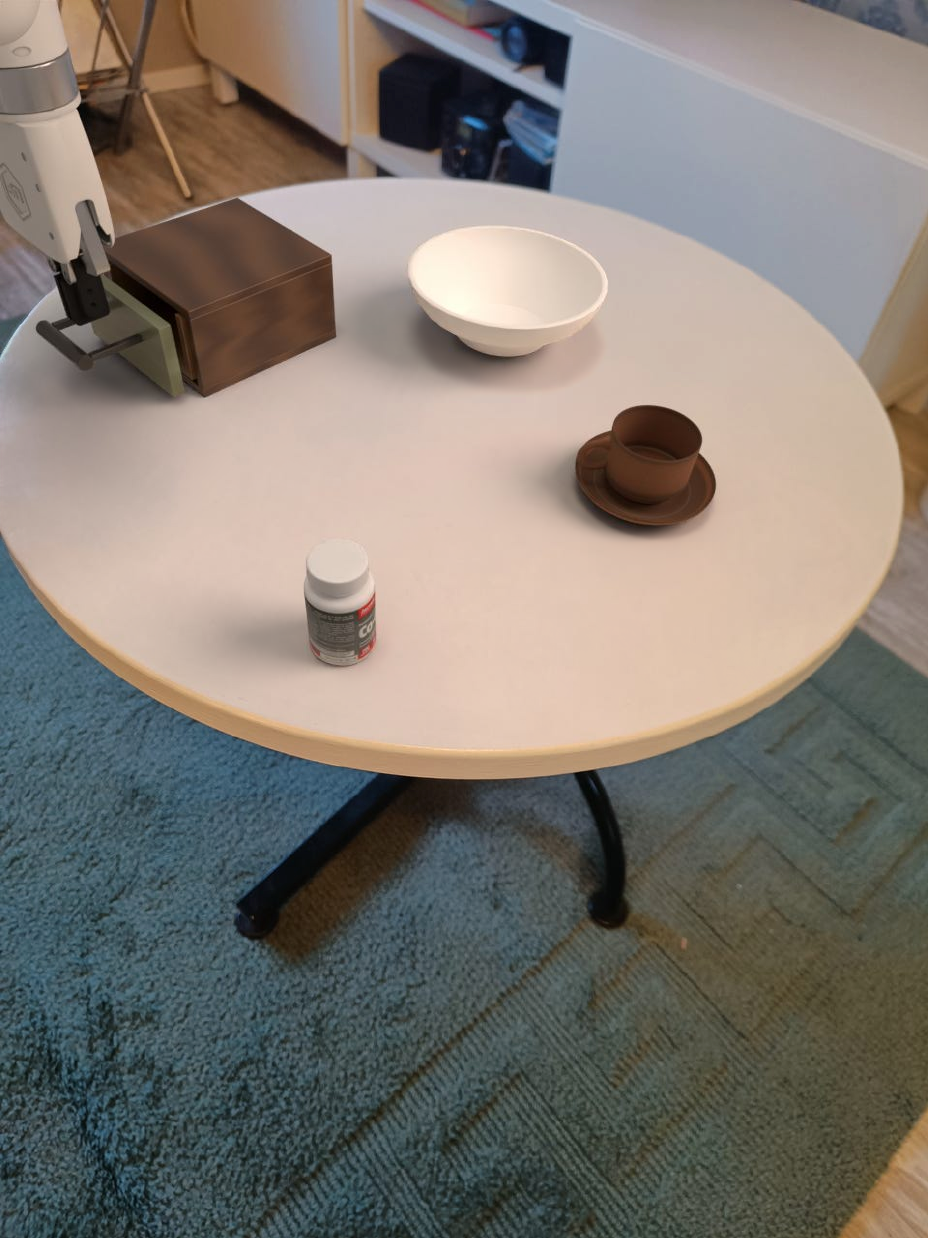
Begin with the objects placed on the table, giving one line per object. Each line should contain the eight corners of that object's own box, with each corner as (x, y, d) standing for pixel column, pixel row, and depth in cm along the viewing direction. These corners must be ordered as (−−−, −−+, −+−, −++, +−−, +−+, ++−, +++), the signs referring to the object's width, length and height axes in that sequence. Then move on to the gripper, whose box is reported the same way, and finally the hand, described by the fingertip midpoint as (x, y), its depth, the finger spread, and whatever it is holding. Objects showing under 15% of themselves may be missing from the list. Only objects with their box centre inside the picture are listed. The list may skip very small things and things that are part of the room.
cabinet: (204, 397, 79) (188, 311, 73) (117, 329, 85) (95, 244, 79) (336, 336, 87) (332, 254, 80) (247, 278, 93) (237, 196, 86)
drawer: (111, 425, 74) (90, 356, 69) (32, 356, 80) (7, 288, 75) (301, 339, 85) (296, 273, 79) (220, 284, 90) (210, 219, 85)
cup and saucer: (616, 553, 70) (633, 496, 65) (547, 462, 77) (557, 404, 72) (737, 517, 74) (761, 461, 69) (661, 433, 80) (678, 376, 76)
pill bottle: (373, 669, 61) (371, 589, 54) (305, 666, 61) (296, 585, 54) (378, 617, 64) (377, 536, 57) (314, 614, 64) (305, 532, 57)
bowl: (629, 332, 91) (644, 270, 86) (528, 418, 80) (537, 354, 75) (478, 267, 98) (483, 206, 93) (366, 339, 87) (365, 275, 82)
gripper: (-84, 57, 62) (4, 295, 76) (21, 128, 56) (96, 372, 70) (16, 37, 65) (83, 267, 80) (125, 101, 59) (176, 338, 73)
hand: (89, 316), depth 75 cm, fingers closed
